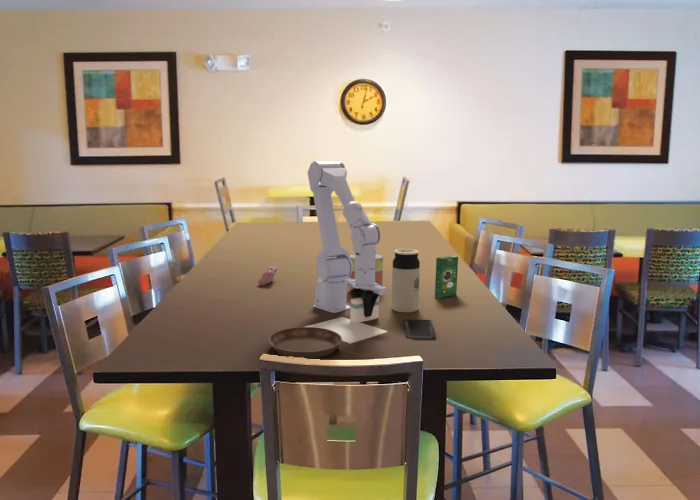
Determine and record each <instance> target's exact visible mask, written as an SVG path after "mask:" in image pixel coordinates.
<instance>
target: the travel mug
mask: <svg viewBox="0 0 700 500" xmlns="http://www.w3.org/2000/svg"><path fill="white" fill-rule="evenodd" d="M393 253H394V258H393V260H392V276H391V277H392V282H391V283H392V284H391V289H392V290H391V309H392V310H393V311H394V312H398V313H407V314H409V313H414V312H415V313H416V312H417V311H418V310H419V303H420V301H419V300H420V270H421V269H420V265H421V264H420V263H421V262H420V259H419V258H418V256H419V253H420V250H417V249H414V248H396V249H395V250H393Z"/></svg>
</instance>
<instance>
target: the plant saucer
mask: <svg viewBox="0 0 700 500" xmlns="http://www.w3.org/2000/svg"><path fill="white" fill-rule="evenodd" d="M268 342H269V344H270V346H271V347H272V348H273V349H274V350H275V352H276V353H277V354H279V355H281V356H283V355H285V356H293V357H304V358H314V359H319V358H323V357H326V356H329V355H332V353H334V351H336V350H337V348H338V347H339V346H340V344H341V342H343V341H342V338H341V336H340V335H339V334H338V333H336V332H334V331H331V330H328V329H323V328H316V327H305V326H302V327H301V326H300V327H290V328H285V329H282V330H279V331H276V332H275V333H273V334H271V335H270V336H269V338H268ZM285 356H284V357H285Z"/></svg>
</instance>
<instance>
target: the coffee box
mask: <svg viewBox="0 0 700 500" xmlns="http://www.w3.org/2000/svg"><path fill="white" fill-rule="evenodd" d="M435 258H436V260H435V261H436V262H435V283H434V284H435V285H434V297H435V298H437V299H442V298H444V299H445V298H448V297H452V296H453V297H454V296H456V295H457V293H458V291H457V289H458V270H459V269H458V267H459V256H457V255H446V256H440V257H435Z"/></svg>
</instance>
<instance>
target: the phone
mask: <svg viewBox="0 0 700 500" xmlns="http://www.w3.org/2000/svg"><path fill="white" fill-rule="evenodd" d="M403 325H404V333H405V334H404V335H405V338H407V339H413V340H429V339H433V340H436V339H437V334H436V331H435V330H436V329H435V327H434V324H433V320H431V319H413V318H412V319H411V318H410V319H409V318H408V319H407V318H406V319H404V320H403Z"/></svg>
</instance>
